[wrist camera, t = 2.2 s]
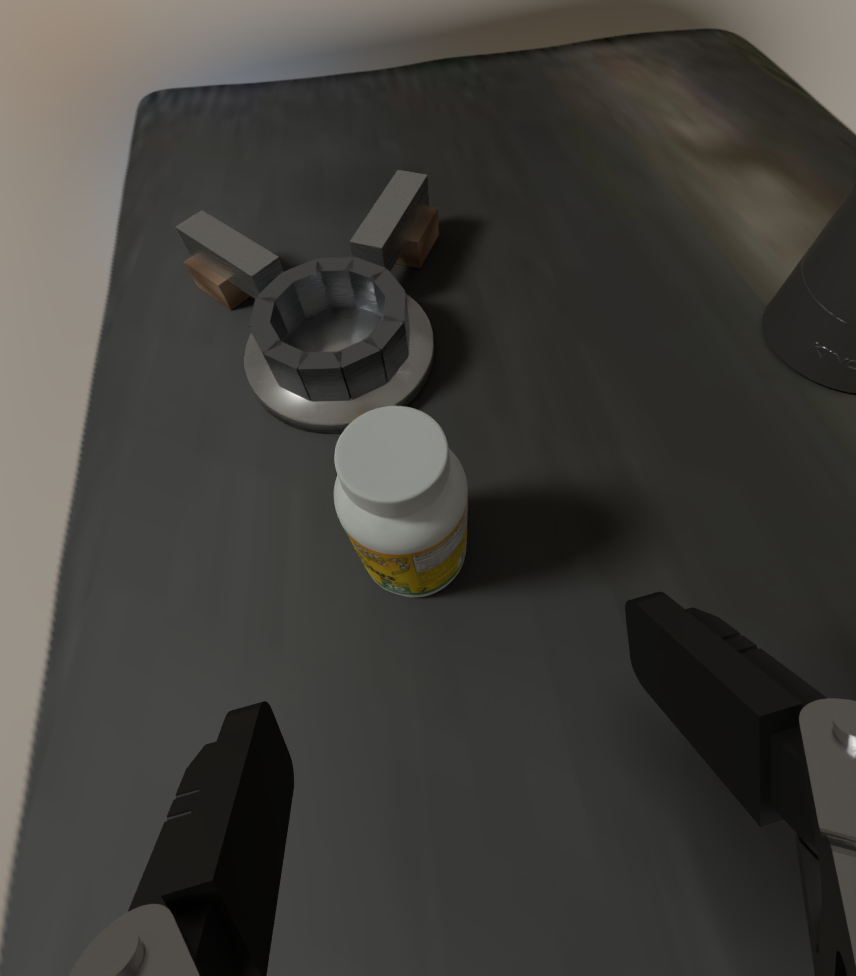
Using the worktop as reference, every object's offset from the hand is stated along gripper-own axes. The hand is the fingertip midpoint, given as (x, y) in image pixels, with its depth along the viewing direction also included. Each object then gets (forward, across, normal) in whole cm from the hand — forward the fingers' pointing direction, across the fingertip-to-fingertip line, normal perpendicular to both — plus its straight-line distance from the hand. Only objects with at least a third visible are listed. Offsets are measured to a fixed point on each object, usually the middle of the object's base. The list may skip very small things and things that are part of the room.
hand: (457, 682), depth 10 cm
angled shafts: (+30, +1, -15) cm, 33 cm away
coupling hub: (+24, +1, -7) cm, 25 cm away
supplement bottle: (+14, 0, +3) cm, 15 cm away
